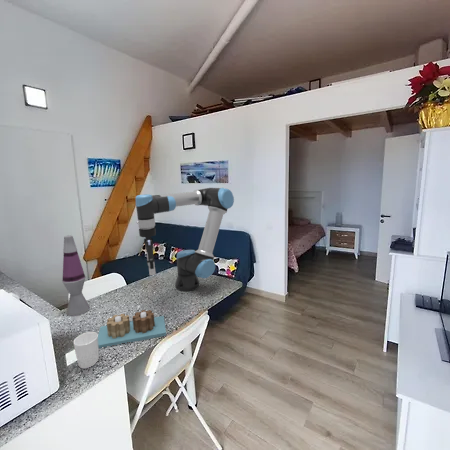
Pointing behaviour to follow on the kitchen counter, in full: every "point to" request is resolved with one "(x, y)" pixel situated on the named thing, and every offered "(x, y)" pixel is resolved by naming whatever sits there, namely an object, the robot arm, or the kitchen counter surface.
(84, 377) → the kitchen counter surface
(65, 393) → the kitchen counter surface
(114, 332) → the maple gear
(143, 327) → the walnut gear
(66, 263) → the lamp
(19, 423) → the kitchen counter surface
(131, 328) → the gear board
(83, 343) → the white cup
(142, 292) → the kitchen counter surface
